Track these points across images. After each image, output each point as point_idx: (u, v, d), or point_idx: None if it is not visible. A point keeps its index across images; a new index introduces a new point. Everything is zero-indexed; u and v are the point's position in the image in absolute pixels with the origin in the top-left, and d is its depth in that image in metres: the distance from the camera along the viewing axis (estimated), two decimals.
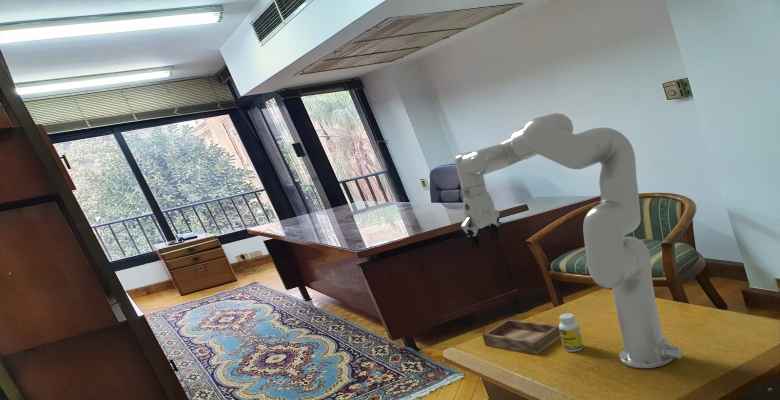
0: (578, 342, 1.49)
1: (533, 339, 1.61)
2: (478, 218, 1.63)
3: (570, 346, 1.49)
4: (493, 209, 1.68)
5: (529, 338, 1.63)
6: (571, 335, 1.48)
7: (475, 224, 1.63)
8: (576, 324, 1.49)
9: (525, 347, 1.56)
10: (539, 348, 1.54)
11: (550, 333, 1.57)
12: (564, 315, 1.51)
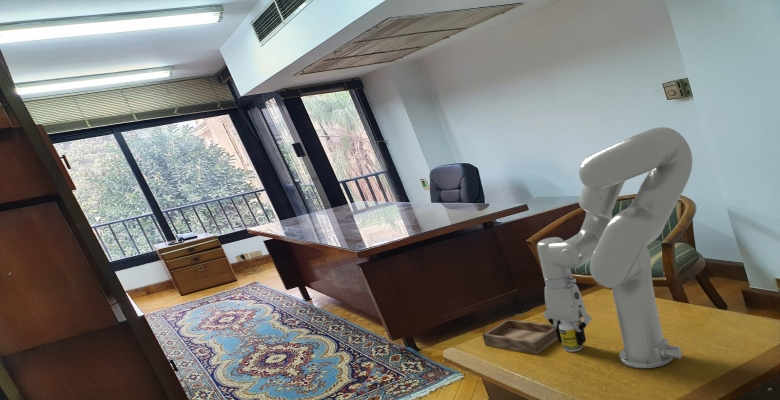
0: None
1: (533, 339, 1.61)
2: None
3: (570, 346, 1.49)
4: None
5: (529, 338, 1.63)
6: (571, 335, 1.48)
7: (585, 312, 1.48)
8: None
9: (525, 347, 1.56)
10: (539, 348, 1.54)
11: (550, 333, 1.57)
12: None
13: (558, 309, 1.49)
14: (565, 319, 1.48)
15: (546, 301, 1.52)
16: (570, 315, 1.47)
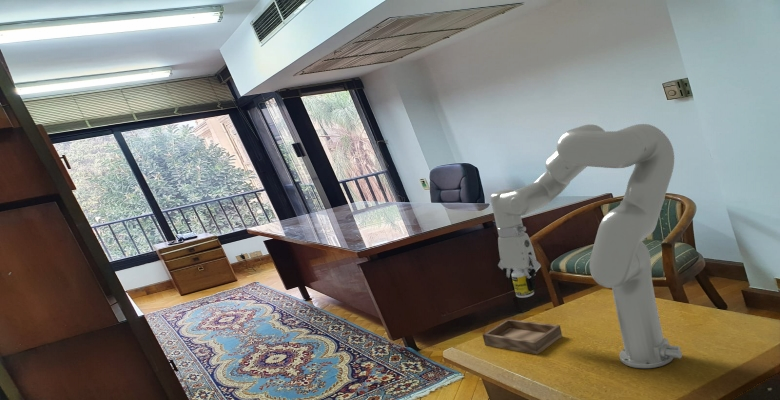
0: None
1: (533, 339, 1.61)
2: None
3: (521, 292, 1.57)
4: None
5: (529, 338, 1.63)
6: (522, 281, 1.56)
7: (535, 259, 1.56)
8: None
9: (525, 347, 1.56)
10: (539, 348, 1.54)
11: (550, 333, 1.57)
12: None
13: (510, 257, 1.57)
14: (516, 266, 1.56)
15: (500, 250, 1.60)
16: (521, 262, 1.55)
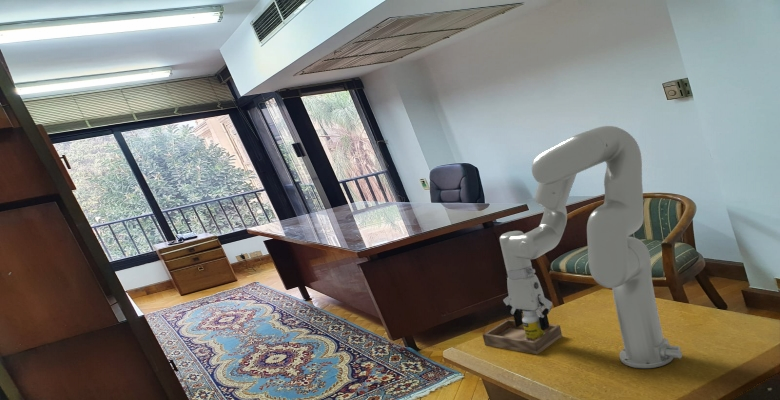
0: (539, 334, 1.58)
1: None
2: None
3: (532, 338, 1.58)
4: None
5: None
6: (532, 327, 1.58)
7: None
8: (538, 317, 1.58)
9: (525, 347, 1.56)
10: (539, 348, 1.54)
11: (550, 333, 1.57)
12: None
13: (519, 298, 1.58)
14: (526, 308, 1.58)
15: (509, 291, 1.61)
16: (530, 304, 1.56)
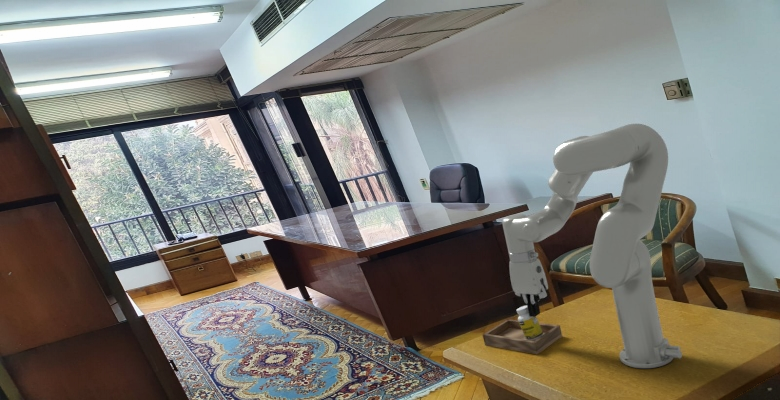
0: (537, 330, 1.58)
1: None
2: None
3: (530, 335, 1.58)
4: None
5: None
6: (528, 324, 1.58)
7: (547, 285, 1.55)
8: None
9: (525, 347, 1.56)
10: (539, 348, 1.54)
11: (550, 333, 1.57)
12: (521, 307, 1.62)
13: (521, 282, 1.56)
14: (528, 292, 1.56)
15: (511, 275, 1.59)
16: (532, 288, 1.54)
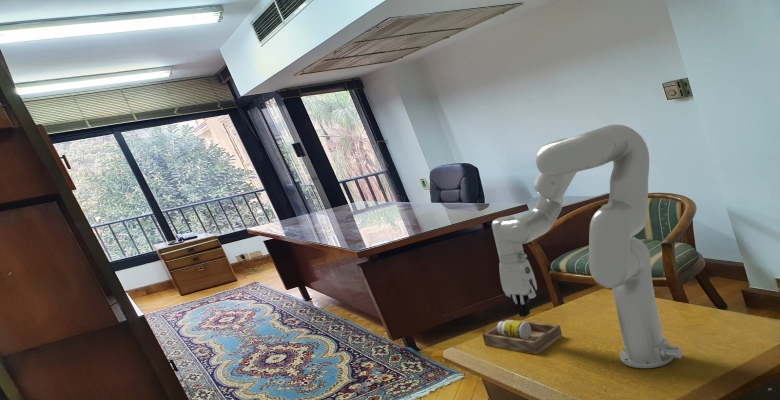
0: (516, 323, 1.63)
1: (533, 339, 1.61)
2: None
3: (516, 330, 1.62)
4: None
5: (529, 338, 1.63)
6: (508, 327, 1.65)
7: (536, 286, 1.58)
8: None
9: (525, 347, 1.56)
10: (539, 348, 1.54)
11: (550, 333, 1.57)
12: None
13: (511, 283, 1.59)
14: (517, 292, 1.59)
15: (501, 276, 1.62)
16: (521, 288, 1.57)
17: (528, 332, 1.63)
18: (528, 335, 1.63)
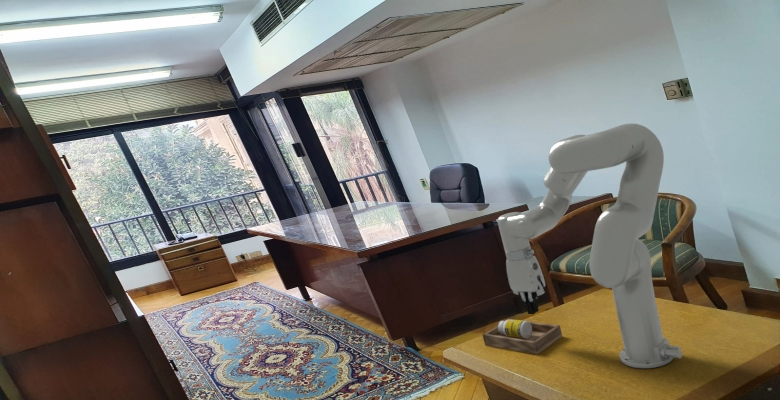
0: (518, 321, 1.64)
1: (533, 339, 1.61)
2: None
3: (517, 328, 1.63)
4: None
5: (529, 338, 1.63)
6: (509, 324, 1.65)
7: (544, 282, 1.55)
8: None
9: (525, 347, 1.56)
10: (539, 348, 1.54)
11: (550, 333, 1.57)
12: None
13: (519, 280, 1.57)
14: (525, 289, 1.56)
15: (508, 273, 1.60)
16: (529, 285, 1.54)
17: (529, 332, 1.63)
18: (528, 335, 1.63)
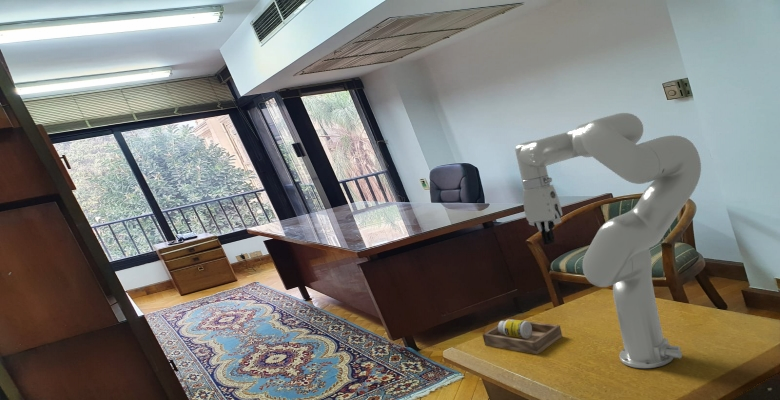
0: (518, 321, 1.64)
1: (533, 339, 1.61)
2: None
3: (517, 328, 1.63)
4: None
5: (529, 338, 1.63)
6: (509, 324, 1.65)
7: (561, 211, 1.54)
8: None
9: (525, 347, 1.56)
10: (539, 348, 1.54)
11: (550, 333, 1.57)
12: None
13: (535, 209, 1.55)
14: (542, 219, 1.55)
15: (524, 204, 1.58)
16: (546, 214, 1.53)
17: (529, 332, 1.63)
18: (528, 335, 1.63)
